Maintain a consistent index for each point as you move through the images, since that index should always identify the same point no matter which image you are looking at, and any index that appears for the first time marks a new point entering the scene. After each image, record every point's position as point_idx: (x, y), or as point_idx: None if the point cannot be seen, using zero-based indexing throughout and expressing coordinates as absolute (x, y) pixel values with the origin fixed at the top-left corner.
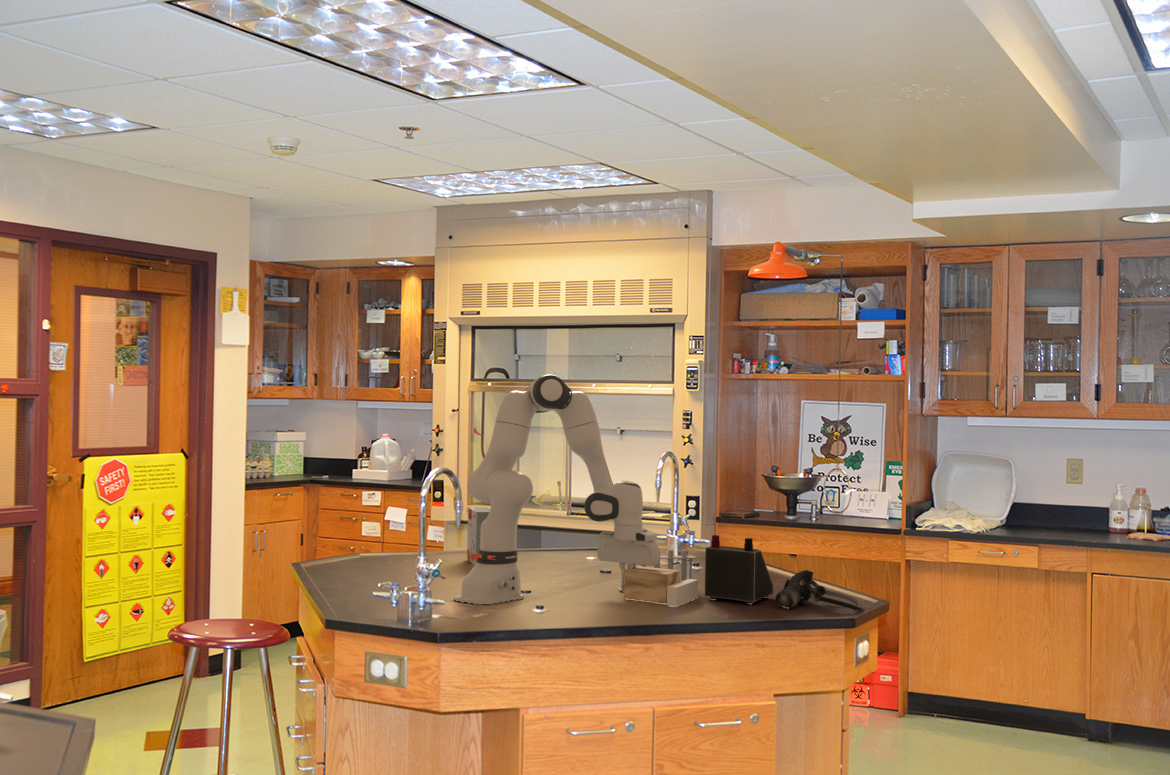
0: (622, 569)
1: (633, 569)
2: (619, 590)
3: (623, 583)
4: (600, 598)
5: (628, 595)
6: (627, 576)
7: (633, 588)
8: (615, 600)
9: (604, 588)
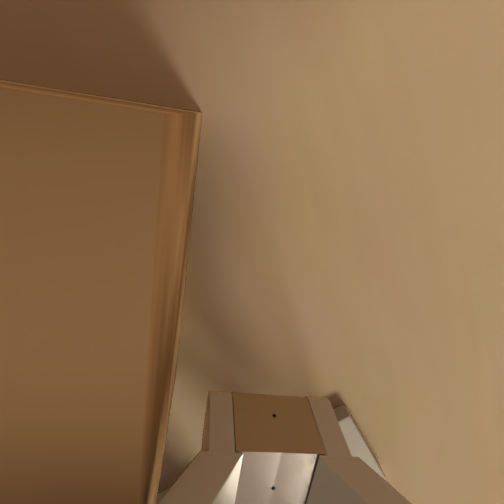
0: (363, 490)
1: (12, 410)
2: (348, 413)
3: None
4: (432, 79)
5: (143, 103)
6: (96, 99)
7: (38, 87)
8: (269, 42)
9: (466, 456)
